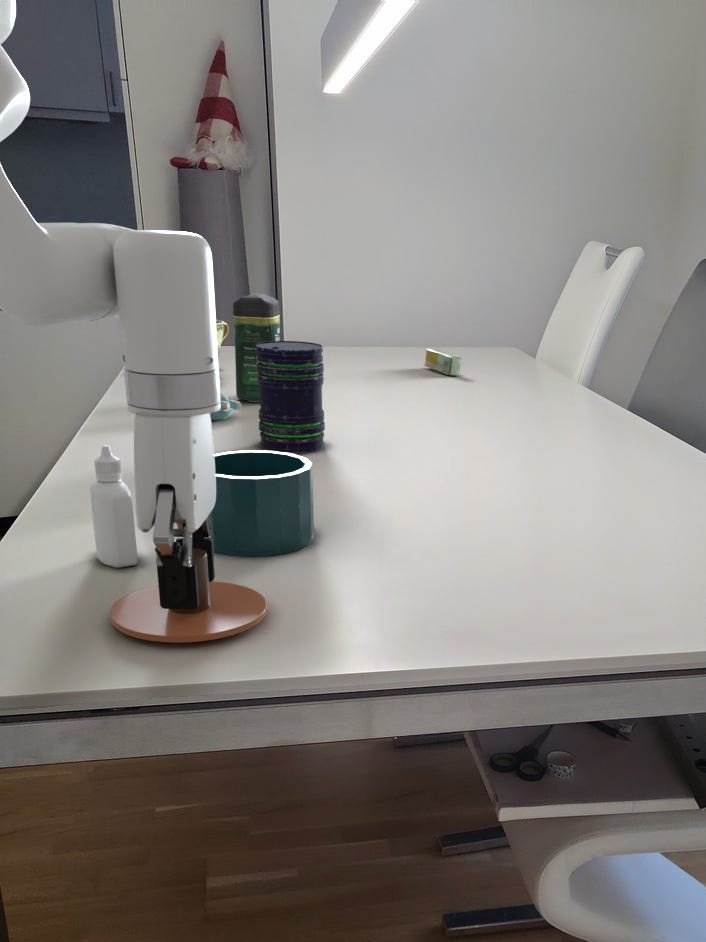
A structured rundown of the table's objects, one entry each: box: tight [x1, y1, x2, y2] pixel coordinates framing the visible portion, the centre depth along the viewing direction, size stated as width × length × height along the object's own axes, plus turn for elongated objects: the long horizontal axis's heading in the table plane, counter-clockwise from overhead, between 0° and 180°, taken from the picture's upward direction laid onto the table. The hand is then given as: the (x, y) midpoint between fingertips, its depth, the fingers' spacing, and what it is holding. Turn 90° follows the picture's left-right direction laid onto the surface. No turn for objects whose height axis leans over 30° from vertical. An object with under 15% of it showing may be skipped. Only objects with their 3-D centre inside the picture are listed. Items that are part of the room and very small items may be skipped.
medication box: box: [423, 348, 462, 377], centre depth 229 cm, size 12×3×4 cm, turn 31°
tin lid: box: [109, 548, 268, 643], centre depth 92 cm, size 14×14×6 cm
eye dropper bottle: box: [89, 444, 139, 569], centre depth 105 cm, size 4×6×12 cm
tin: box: [205, 450, 315, 558], centre depth 114 cm, size 13×13×8 cm
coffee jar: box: [232, 293, 281, 403], centre depth 188 cm, size 10×8×19 cm
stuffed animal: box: [210, 392, 242, 422], centre depth 174 cm, size 11×7×12 cm
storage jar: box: [256, 340, 326, 454], centre depth 155 cm, size 10×10×15 cm
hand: (188, 592), depth 93 cm, fingers open, 6 cm apart
